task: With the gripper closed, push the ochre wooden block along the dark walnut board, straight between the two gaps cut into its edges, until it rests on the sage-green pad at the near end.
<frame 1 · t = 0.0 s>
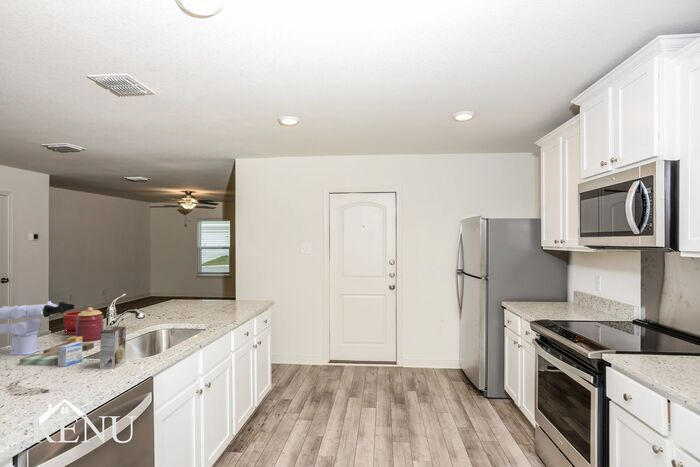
hand: (68, 308, 181), 22 cm above the table, tool horizontal, fingers open, 7 cm apart
medicine box: (70, 364, 165), on the table
coffee box: (112, 365, 163), on the table
canister: (89, 339, 205), on the table
block: (74, 344, 186), point 2 cm above the table, touching trap board
trap board: (59, 355, 176), on the table
plant pot: (76, 333, 218), on the table
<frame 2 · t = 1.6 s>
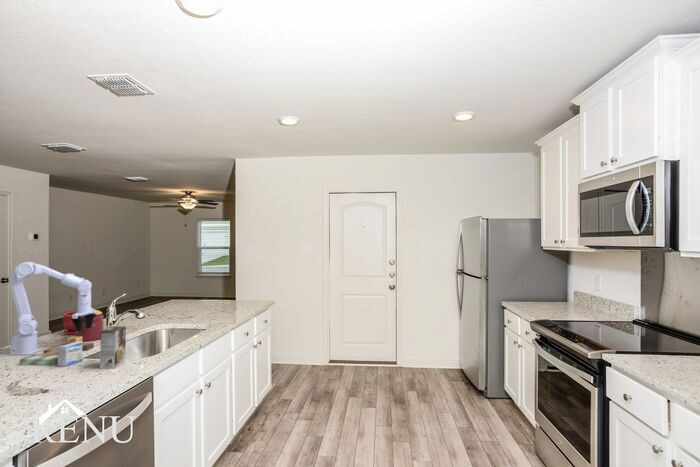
hand: (83, 329, 192), 8 cm above the table, tool pointing down, fingers open, 7 cm apart
nothing on the table moved.
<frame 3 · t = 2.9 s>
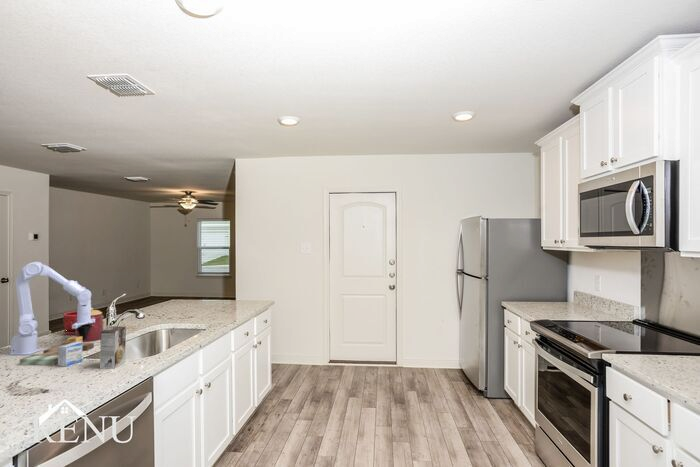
hand: (83, 339, 192), 3 cm above the table, tool pointing down, fingers closed
nothing on the table moved.
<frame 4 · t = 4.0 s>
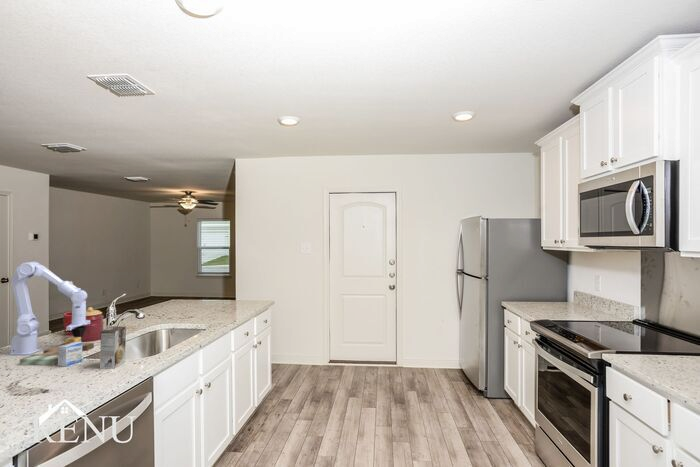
hand: (78, 341, 188), 3 cm above the table, tool pointing down, fingers closed
block: (73, 345, 185), point 3 cm above the table, touching gripper
everything else where it was.
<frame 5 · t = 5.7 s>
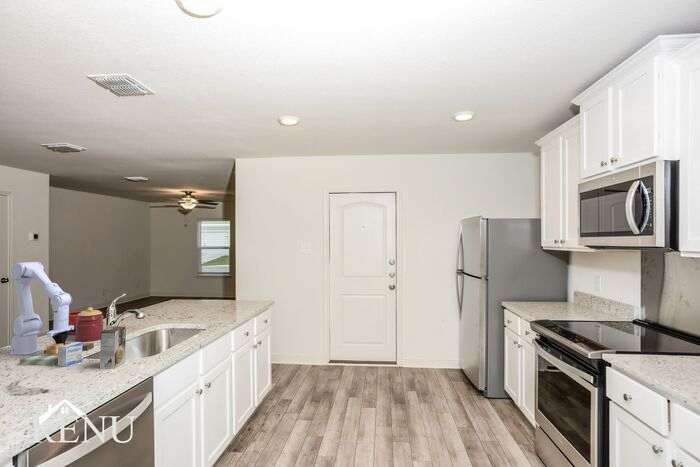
hand: (60, 348, 176), 3 cm above the table, tool pointing down, fingers closed
block: (54, 352, 173), point 3 cm above the table, touching gripper
everything else where it was.
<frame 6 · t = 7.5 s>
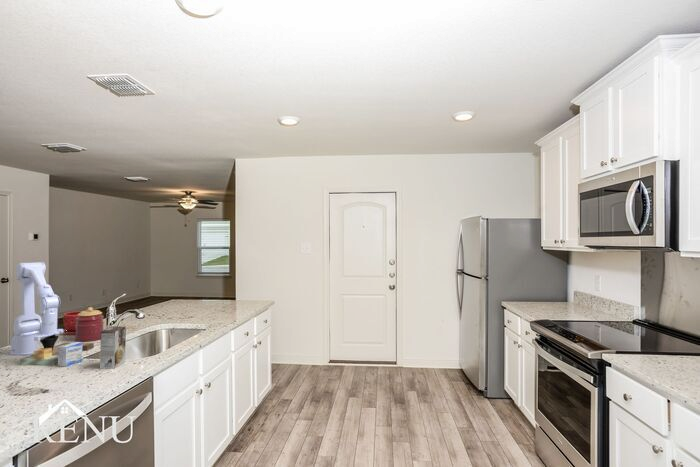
hand: (48, 352, 169), 3 cm above the table, tool pointing down, fingers closed
block: (42, 357, 165), point 2 cm above the table, touching gripper, trap board
everything else where it was.
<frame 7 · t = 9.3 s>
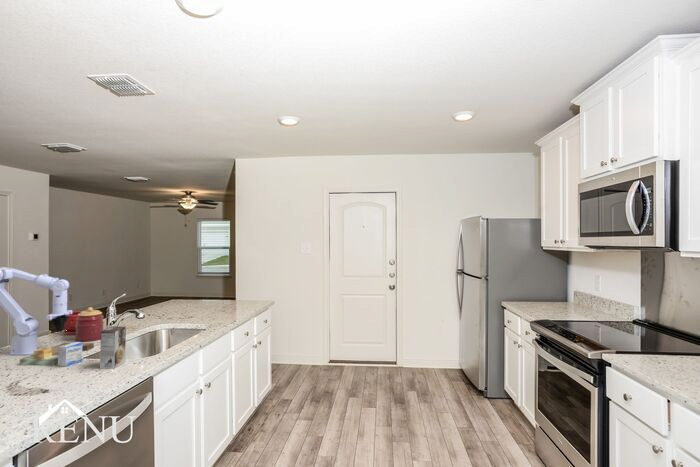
hand: (59, 331, 185), 9 cm above the table, tool pointing down, fingers closed
block: (42, 357, 165), point 2 cm above the table, touching trap board
everything else where it was.
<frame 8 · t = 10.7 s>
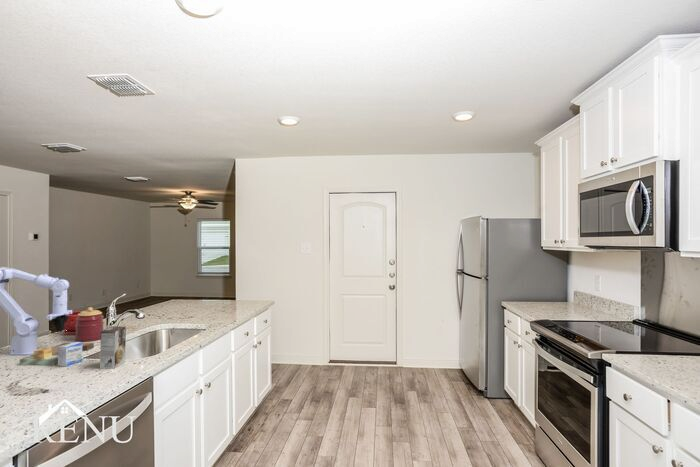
hand: (59, 331, 185), 9 cm above the table, tool pointing down, fingers closed
nothing on the table moved.
at the end: block 0.3 cm from the target spot on the trap board, point 2.5 cm above the trap board's base; block tilted 0° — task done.
